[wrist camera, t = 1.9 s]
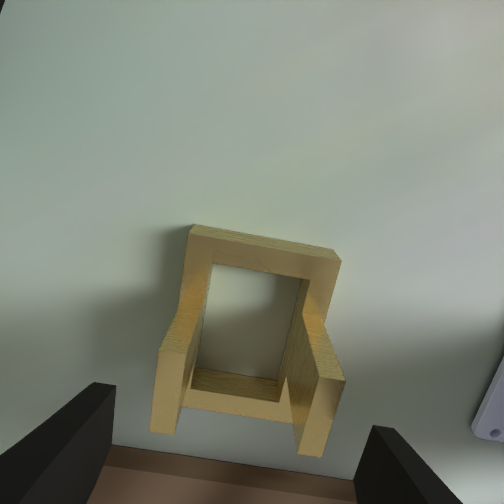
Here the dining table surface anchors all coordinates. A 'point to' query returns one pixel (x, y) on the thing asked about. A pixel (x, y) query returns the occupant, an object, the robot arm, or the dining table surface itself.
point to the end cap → (1, 4)
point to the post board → (207, 482)
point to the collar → (295, 355)
